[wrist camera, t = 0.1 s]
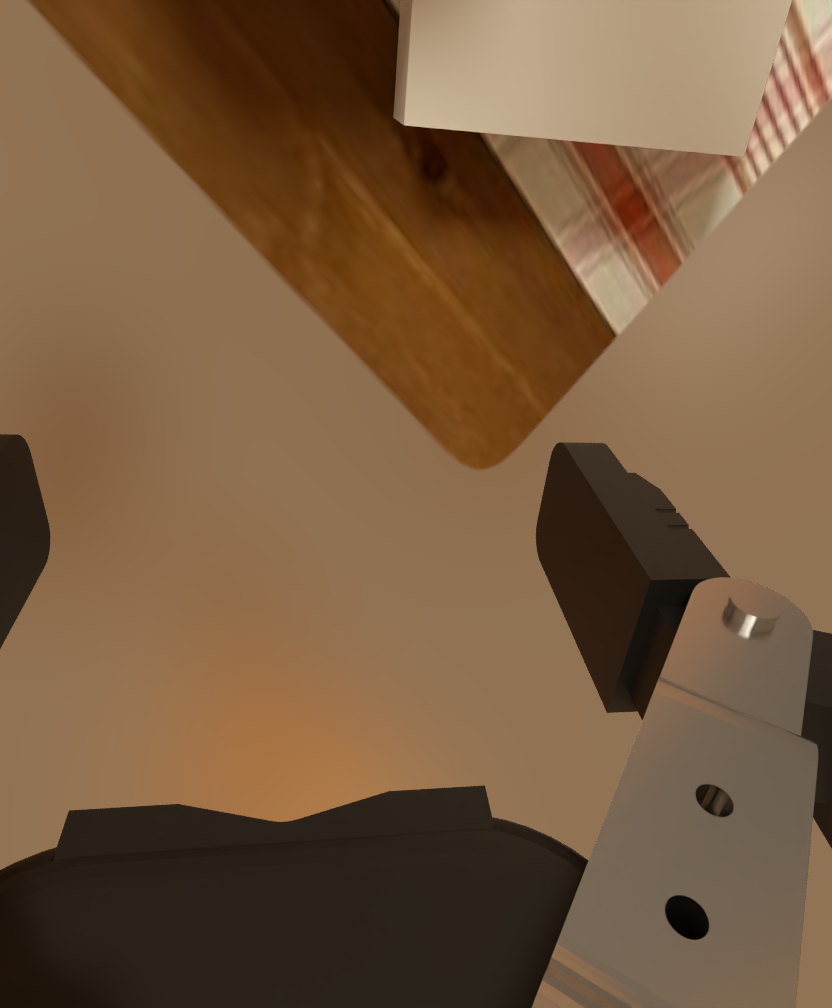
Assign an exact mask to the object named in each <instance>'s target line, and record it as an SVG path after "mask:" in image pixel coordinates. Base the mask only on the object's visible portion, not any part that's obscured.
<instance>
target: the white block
mask: <svg viewBox="0 0 832 1008" xmlns="http://www.w3.org/2000/svg"><path fill="white" fill-rule="evenodd" d="M791 2H792V0H401V2H400V18H399V35H398V51H397V67H396V83H395V100H394V116H393V118H394V119H396V120H397V121H399V122H400V123H401V124H403V125H405V126H416V127H427V128H437V129H448V130H459V131H470V132H481V133H491V134H502V135H513V136H524V137H535V138H545V139H556V140H567V141H578V142H589V143H599V144H610V145H621V146H632V147H643V148H653V149H664V150H675V151H686V152H697V153H707V154H718V155H729V156H740V157H744V155H745V152H746V149H747V145H748V142H749V139H750V136H751V132H752V129H753V126H754V123H755V119H756V116H757V113H758V110H759V106H760V103H761V100H762V97H763V93H764V90H765V87H766V84H767V80H768V77H769V74H770V71H771V67H772V64H773V61H774V58H775V54H776V51H777V48H778V45H779V41H780V38H781V35H782V32H783V28H784V25H785V22H786V19H787V15H788V12H789V9H790V6H791Z"/></svg>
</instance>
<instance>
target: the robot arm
mask: <svg viewBox="0 0 832 1008" xmlns="http://www.w3.org/2000/svg"><path fill="white" fill-rule="evenodd" d="M688 526H689V525H688V524H687V522H686V521H685V520H684V518H683V517H682V516H681V515H680V513H676V509H675V507H674V506H673V505H672V503H671V502H670V501H669V500H668V498H667V497H666V496H665V495H664V493H663V492H662V491H661V490H660V489H659V488H657V487H655V486H654V485H653V484H651V483H650V482H648V481H647V480H645V479H644V478H642V477H641V476H639V475H637V474H636V473H627V471H626V470H625V469H624V467H623V466H622V465H621V463H620V462H619V461H618V459H617V458H616V457H615V455H614V454H613V453H612V451H611V450H610V449H609V447H608V446H607V445H606V444H604V443H557V444H556V446H555V447H554V449H553V451H552V454H551V458H550V462H549V467H548V473H547V477H546V482H545V487H544V491H543V496H542V501H541V506H540V511H539V516H538V521H537V528H536V545H537V552H538V557H539V560H540V562H541V564H542V567H543V569H544V571H545V574H546V576H547V578H548V580H549V583H550V585H551V587H552V589H553V592H554V594H555V596H556V598H557V600H558V603H559V605H560V607H561V609H562V612H563V614H564V617H565V619H566V621H567V623H568V626H569V628H570V630H571V632H572V635H573V637H574V639H575V641H576V644H577V646H578V648H579V650H580V653H581V655H582V657H583V659H584V662H585V664H586V666H587V668H588V671H589V673H590V675H591V677H592V680H593V682H594V684H595V687H596V689H597V691H598V693H599V696H600V698H601V700H602V702H603V705H604V707H605V709H606V711H607V713H611V712H634V711H638V713H639V715H640V717H641V719H642V723H641V726H640V728H639V731H638V733H637V736H636V739H635V742H634V744H633V746H632V749H631V752H630V754H629V757H628V760H627V762H626V765H625V767H624V770H623V772H622V775H621V778H620V780H619V783H618V786H617V788H616V791H615V794H614V796H613V798H612V801H611V804H610V806H609V809H608V811H607V814H606V817H605V819H604V822H603V824H602V827H601V830H600V832H599V835H598V837H597V840H596V843H595V845H594V848H593V851H592V853H591V856H590V858H589V861H588V860H587V859H585V858H584V857H583V856H581V855H580V854H578V853H577V852H576V851H574V850H573V849H571V848H569V847H568V846H566V845H564V844H562V843H561V842H559V841H557V840H555V839H554V838H552V837H550V836H547V835H545V834H542V833H541V832H538V831H536V830H534V829H532V828H529V827H526V826H523V825H520V824H517V823H514V822H510V821H507V820H503V819H498V818H492V815H491V810H490V806H489V802H488V798H487V793H486V789H485V786H473V787H472V786H471V787H454V788H437V789H421V790H404V791H389V792H385V793H382V794H379V795H376V796H372V797H369V798H366V799H363V800H360V801H356V802H353V803H349V804H347V805H343V806H340V807H336V808H333V809H330V810H327V811H323V812H320V813H317V814H314V815H311V816H307V817H304V818H301V819H297V820H293V821H289V822H274V821H268V820H263V819H257V818H252V817H246V816H241V815H235V814H230V813H224V812H219V811H213V810H208V809H202V808H196V807H191V806H186V805H180V804H173V805H172V804H171V805H154V806H138V807H121V808H105V809H88V810H71V811H69V812H68V815H67V819H66V822H65V824H64V828H63V830H62V833H61V836H60V839H59V843H58V845H57V847H56V848H53V849H49V850H46V851H43V852H40V853H38V854H36V855H33V856H30V857H28V858H25V859H23V860H20V861H18V862H16V863H13V864H12V865H10V866H7V867H6V868H4V869H2V870H0V1008H796V998H797V987H798V976H799V965H800V954H801V943H802V932H803V921H804V910H805V899H806V888H807V877H808V865H809V855H810V844H811V833H812V822H813V818H814V820H815V821H816V823H817V824H818V826H819V828H820V830H821V831H822V833H823V835H824V836H825V838H826V840H827V841H828V843H829V845H830V847H831V848H832V634H830V633H825V632H820V631H815V630H813V629H812V626H811V623H810V622H809V620H808V618H807V617H806V616H805V614H804V613H803V612H802V611H801V610H800V609H799V608H798V607H797V606H796V605H795V604H794V603H793V602H791V601H790V600H789V599H787V598H786V597H784V596H782V595H781V594H779V593H778V592H776V591H774V590H771V589H769V588H768V587H765V586H763V585H760V584H757V583H754V582H751V581H747V580H742V579H738V578H731V577H730V576H729V575H728V574H727V572H726V571H725V570H724V569H723V567H722V566H721V565H720V564H719V562H718V561H717V560H716V559H715V557H714V556H713V555H712V554H711V552H710V551H709V550H708V549H707V548H706V546H705V545H704V544H703V542H702V541H701V540H700V538H699V537H698V536H697V535H696V533H695V532H694V531H693V530H692V529H689V528H688ZM49 549H50V529H49V523H48V519H47V515H46V511H45V508H44V503H43V499H42V496H41V492H40V487H39V484H38V480H37V476H36V472H35V468H34V464H33V460H32V456H31V452H30V449H29V447H28V444H27V442H26V441H25V439H24V438H23V437H21V436H20V435H7V434H5V435H4V434H3V435H2V434H0V648H1V646H2V645H3V643H4V641H5V639H6V637H7V635H8V634H9V632H10V630H11V628H12V626H13V624H14V622H15V621H16V619H17V617H18V615H19V613H20V611H21V609H22V608H23V606H24V604H25V602H26V600H27V598H28V596H29V595H30V593H31V591H32V589H33V587H34V585H35V584H36V582H37V579H38V578H39V576H40V574H41V572H42V571H43V569H44V566H45V565H46V562H47V559H48V555H49Z"/></svg>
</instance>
